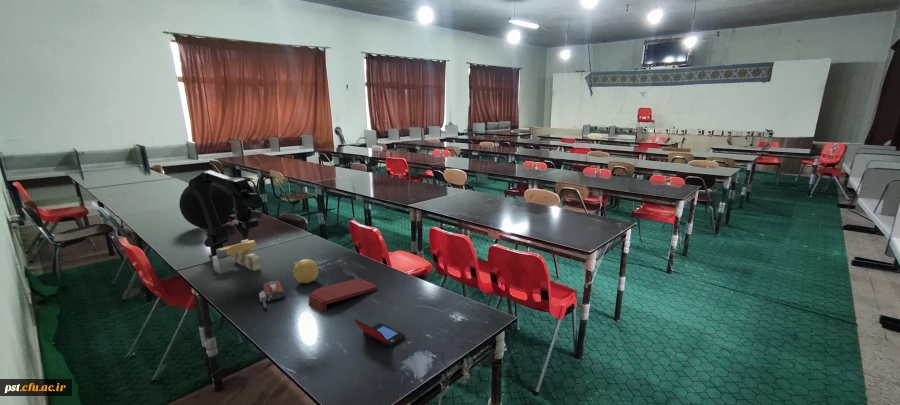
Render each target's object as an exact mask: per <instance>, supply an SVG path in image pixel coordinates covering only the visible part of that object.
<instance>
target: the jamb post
mask: <svg viewBox="0 0 900 405" xmlns="http://www.w3.org/2000/svg"><path fill="white" fill-rule="evenodd" d="M233 256H234V255H233V254H230V255H227V256H225V257H217V256H213V257H212V258H211V259H212V264H213V270H214V271H215V272H216V273H218V274H220V275H222V274H225V273H229V272H232V271H234V270H236V269H235V264H234V257H233Z"/></svg>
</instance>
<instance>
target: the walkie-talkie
mask: <svg viewBox="0 0 900 405" xmlns="http://www.w3.org/2000/svg"><path fill="white" fill-rule="evenodd" d="M285 294H286V293H285V290H284V288H283V286H282V283H281V280H272V281H268V282H264V283H263V284H262V285H261V292H259V293H258V296H259V303H262V305H263V308H264V309H268V306H267V303H266V302H270V301H274V300H277V299H279V300H280V299H282V298H285Z"/></svg>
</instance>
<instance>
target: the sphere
mask: <svg viewBox="0 0 900 405" xmlns="http://www.w3.org/2000/svg"><path fill="white" fill-rule="evenodd" d="M210 185H211V191H210V197H211V200H212V203H213V206H214V208H215V211H216V214H217V217H218V220H219V222H220V224H222V225H223V226H224V225H226V224H228V223H229V222H228V216H229V215H234V214H235V211H233V209H234V200H233V197H231V196H229V195H230V194H231V193H232V192H231V191H229V190H227V188H226V187H225V186H223V185H220V184H217V183H214V182H212V183H211V184H210ZM178 205H179V211H180V213H181V215H182V216H183V218H184V219H185V220H186V222H188V223H190V224H191V225H192V226H194V227H198V228H200V229H205V230H207V229H208V224H207V221H206V219H205V216H204V213H203V210H202V208H201V205H200V202H199V199H198V197H197V196H195V195H194V194H193V193H192V192H191V190H190V188H189V185H187V186H186V187H185V188H184V189H183V191H182V193H181V194H180V198H179V202H178Z"/></svg>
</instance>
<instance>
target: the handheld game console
mask: <svg viewBox="0 0 900 405" xmlns="http://www.w3.org/2000/svg"><path fill="white" fill-rule="evenodd" d="M354 322H355V324H356V325H357V326H358V327H359V328H360V329H361V331H362V333H363V335H364V336H365V337H367V338H369V339H371V340H375V341H376V342H378V343H379V344H381V345H382V346H384V347H386V348H388V349H390V348H391V347H393V346H394V345H396V344H398V343H400V342H401V341H403V340H404V339H405V338H406V335H405V334H404V333H402V332H400V331H398V330H396V329H394V328H392V327H390V326H387V325H386V324H384V323H382V322H379V323H377V324H375V325H373V326H369V325H368V324H366V323H364V322H361V321H359V320H357V319H354Z"/></svg>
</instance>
